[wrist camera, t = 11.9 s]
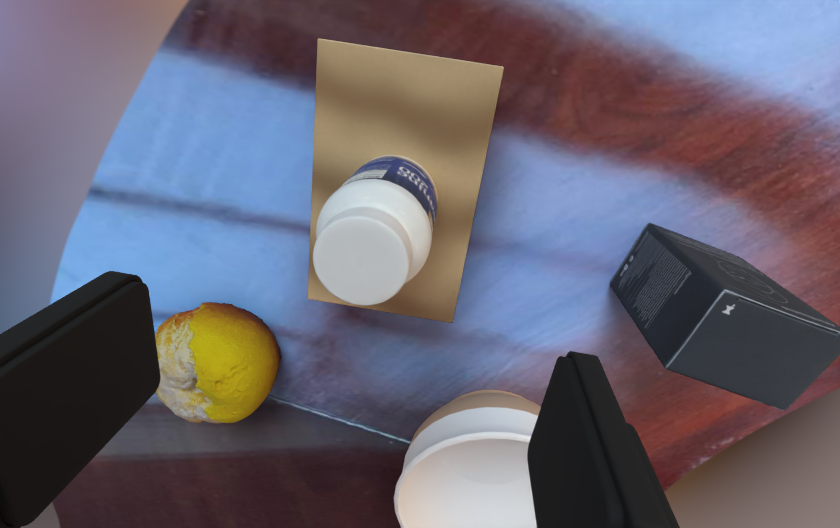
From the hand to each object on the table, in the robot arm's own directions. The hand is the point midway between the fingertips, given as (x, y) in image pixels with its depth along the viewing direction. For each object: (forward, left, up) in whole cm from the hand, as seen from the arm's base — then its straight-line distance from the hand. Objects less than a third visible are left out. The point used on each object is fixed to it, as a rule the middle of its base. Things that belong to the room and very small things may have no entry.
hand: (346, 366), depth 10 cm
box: (+5, +20, -24) cm, 31 cm away
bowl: (+24, +10, -24) cm, 35 cm away
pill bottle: (+1, -1, -18) cm, 18 cm away
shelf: (+1, -1, -24) cm, 24 cm away
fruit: (+19, -15, -24) cm, 34 cm away
